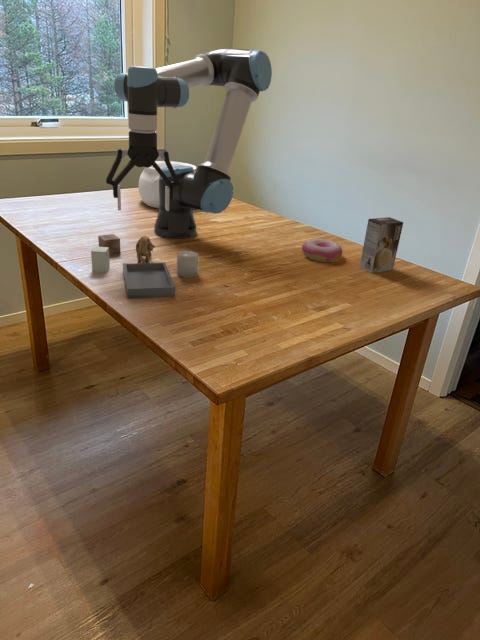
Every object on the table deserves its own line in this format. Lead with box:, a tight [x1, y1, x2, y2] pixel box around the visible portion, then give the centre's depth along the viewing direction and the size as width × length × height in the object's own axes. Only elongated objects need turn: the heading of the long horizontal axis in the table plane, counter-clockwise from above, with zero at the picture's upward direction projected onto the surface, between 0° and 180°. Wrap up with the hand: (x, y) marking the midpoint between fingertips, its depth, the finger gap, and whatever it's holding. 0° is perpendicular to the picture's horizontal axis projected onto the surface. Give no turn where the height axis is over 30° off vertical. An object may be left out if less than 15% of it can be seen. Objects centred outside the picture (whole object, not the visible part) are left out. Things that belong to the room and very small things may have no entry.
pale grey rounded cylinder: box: [176, 250, 199, 279], centre depth 138 cm, size 6×6×6 cm
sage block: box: [90, 245, 111, 273], centre depth 137 cm, size 4×4×6 cm
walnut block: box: [97, 233, 122, 256], centre depth 149 cm, size 5×5×5 cm
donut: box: [301, 238, 344, 263], centre depth 161 cm, size 14×13×5 cm
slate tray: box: [122, 261, 176, 299], centre depth 130 cm, size 12×18×3 cm, turn 16°
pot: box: [138, 160, 197, 209], centre depth 206 cm, size 29×26×16 cm
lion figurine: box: [135, 235, 156, 263], centre depth 145 cm, size 15×5×9 cm, turn 15°
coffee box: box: [359, 216, 404, 274], centre depth 152 cm, size 9×6×16 cm
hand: (143, 209), depth 138 cm, fingers open, 13 cm apart
